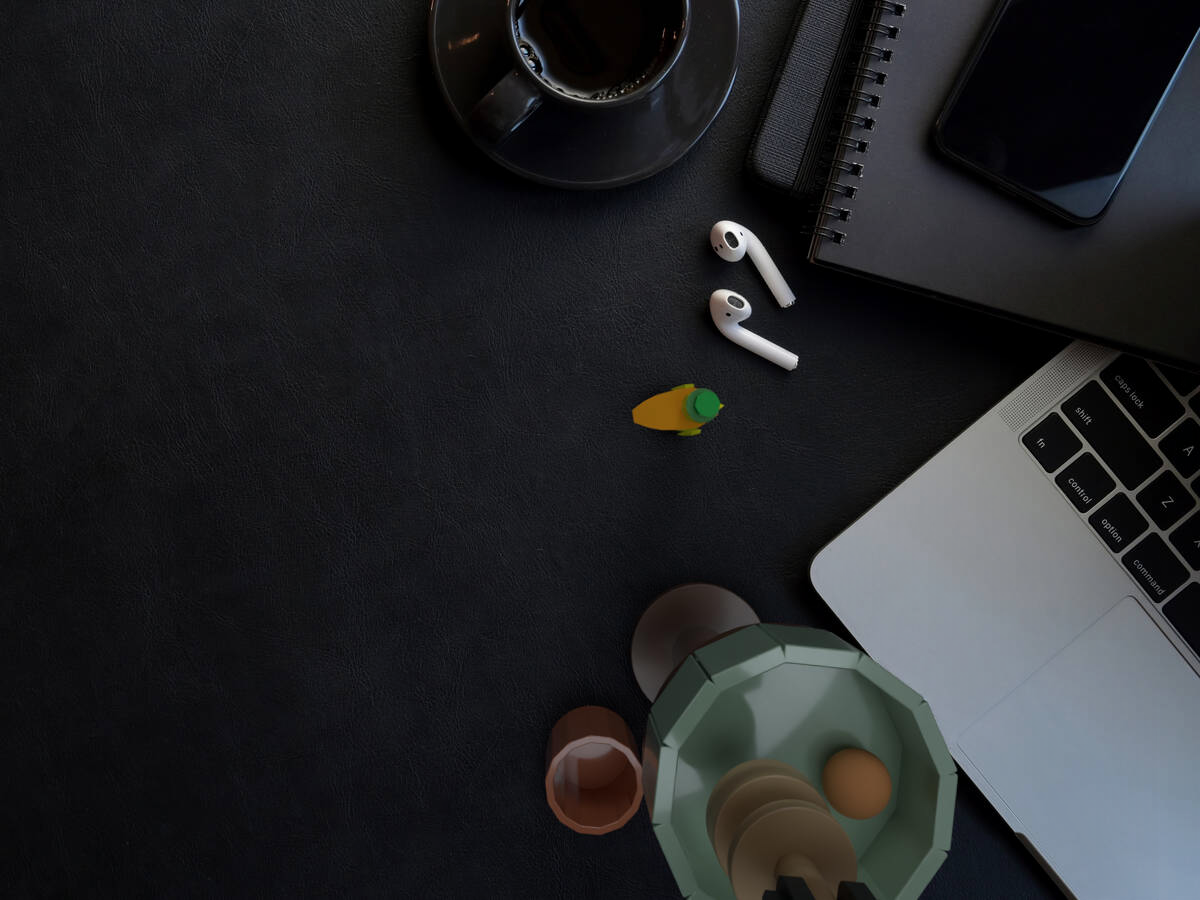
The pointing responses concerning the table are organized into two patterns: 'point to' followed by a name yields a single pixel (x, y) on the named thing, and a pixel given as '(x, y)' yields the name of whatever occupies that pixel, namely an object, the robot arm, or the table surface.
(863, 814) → the ball
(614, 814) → the holder
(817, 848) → the beige plunger
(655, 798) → the green bowl
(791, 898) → the robot arm
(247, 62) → the table surface
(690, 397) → the toy figure
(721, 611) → the brown pedestal stand
